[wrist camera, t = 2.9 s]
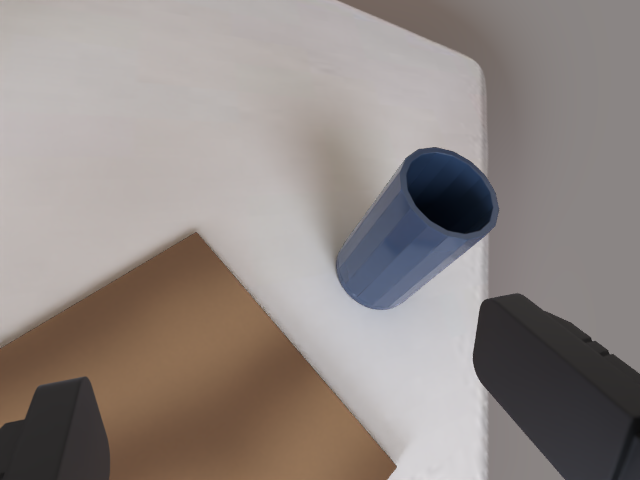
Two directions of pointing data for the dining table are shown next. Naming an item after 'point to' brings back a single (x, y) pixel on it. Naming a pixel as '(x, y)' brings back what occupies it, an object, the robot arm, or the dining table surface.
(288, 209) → the dining table surface
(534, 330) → the robot arm
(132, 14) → the dining table surface
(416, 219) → the pen holder
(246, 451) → the desk mat
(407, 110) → the dining table surface
